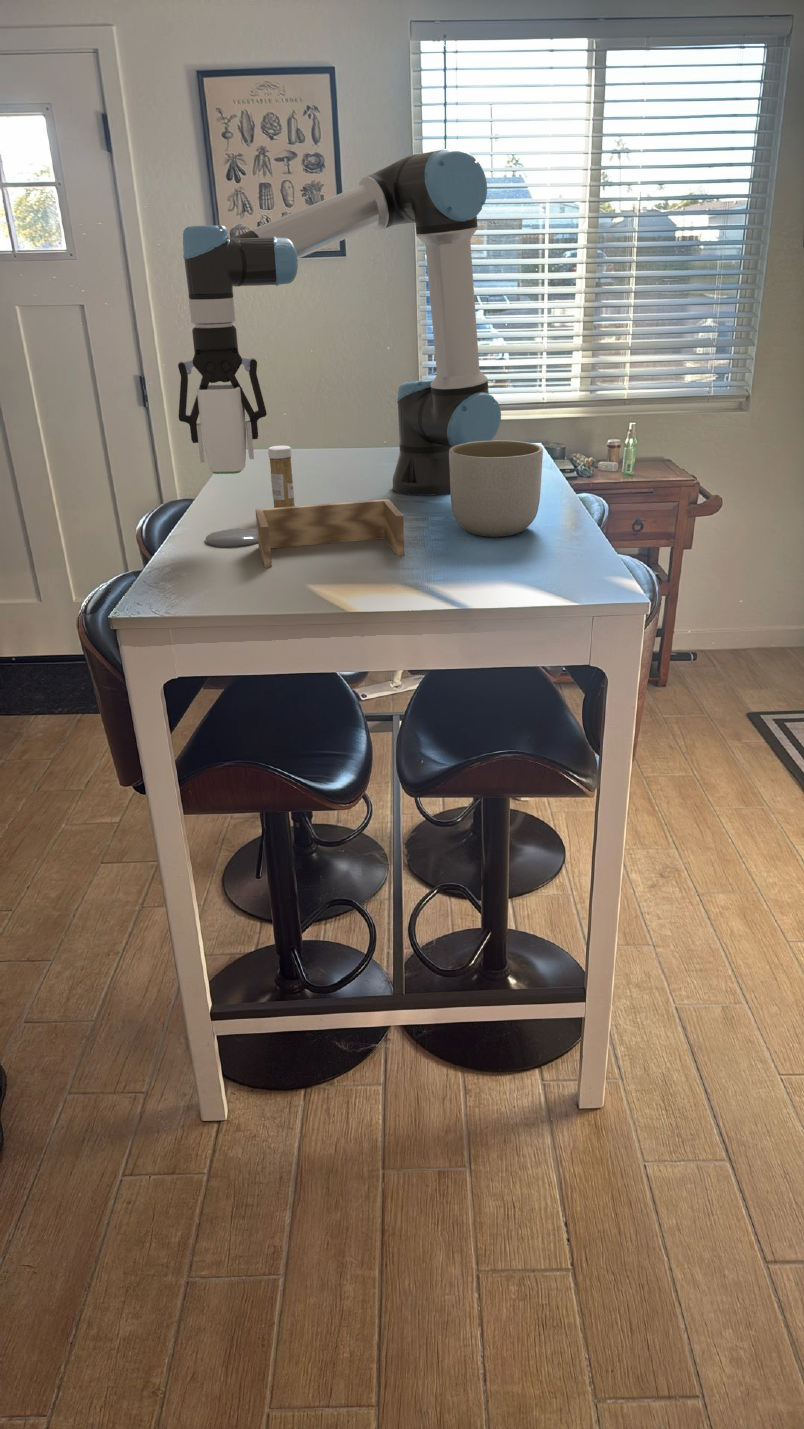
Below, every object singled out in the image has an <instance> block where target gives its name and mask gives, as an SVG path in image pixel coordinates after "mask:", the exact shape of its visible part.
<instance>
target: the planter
mask: <svg viewBox="0 0 804 1429" xmlns="http://www.w3.org/2000/svg"><path fill="white" fill-rule="evenodd" d="M543 449H544V448H543V447H542V446H541V445H539V444H536V443H533V442H527V441H519V440H505V439H504V440H503V439H502V440H501V439H500V440H499V439H498V440H494V439H492V441H477V442H469V443H463V444H459V445H456V446H453V447H451V448H450V449H449V470H450V493H449V494H450V504H451V511H452V514H453V517H454V519H455V521H456V522H457V524H458V525H459V526H460V527H461V528H462V529H464V530H465V531H466V532H468V533H469V534H472V535H476V536H480V537H488V538H490V537H491V538H498V537H499V538H501V537H508V536H514V535H517V534H520V533H522V532H523V531H524V530H526V529H527V528H528V527H529V526H530V525H531V524H533V522H534V521H535V520H536V517H537V515H538V511H539V508H540V498H541V489H542V472H543V471H542V470H543V460H544V459H543V458H544V457H543V456H544V455H543V454H544V450H543Z"/></svg>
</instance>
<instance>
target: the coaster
mask: <svg viewBox="0 0 804 1429" xmlns="http://www.w3.org/2000/svg"><path fill="white" fill-rule="evenodd" d="M205 542H206V544H207V545H209V546H210V547H211V546H212V547H216V548H239V547H240V548H242V547H248V546H253V545H256V544H259V543H258V532H257V529H255V528H230V529H224V530H223V529H222V530H218V531H214V532H212V533H209V534H207V535H206V537H205Z"/></svg>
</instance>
